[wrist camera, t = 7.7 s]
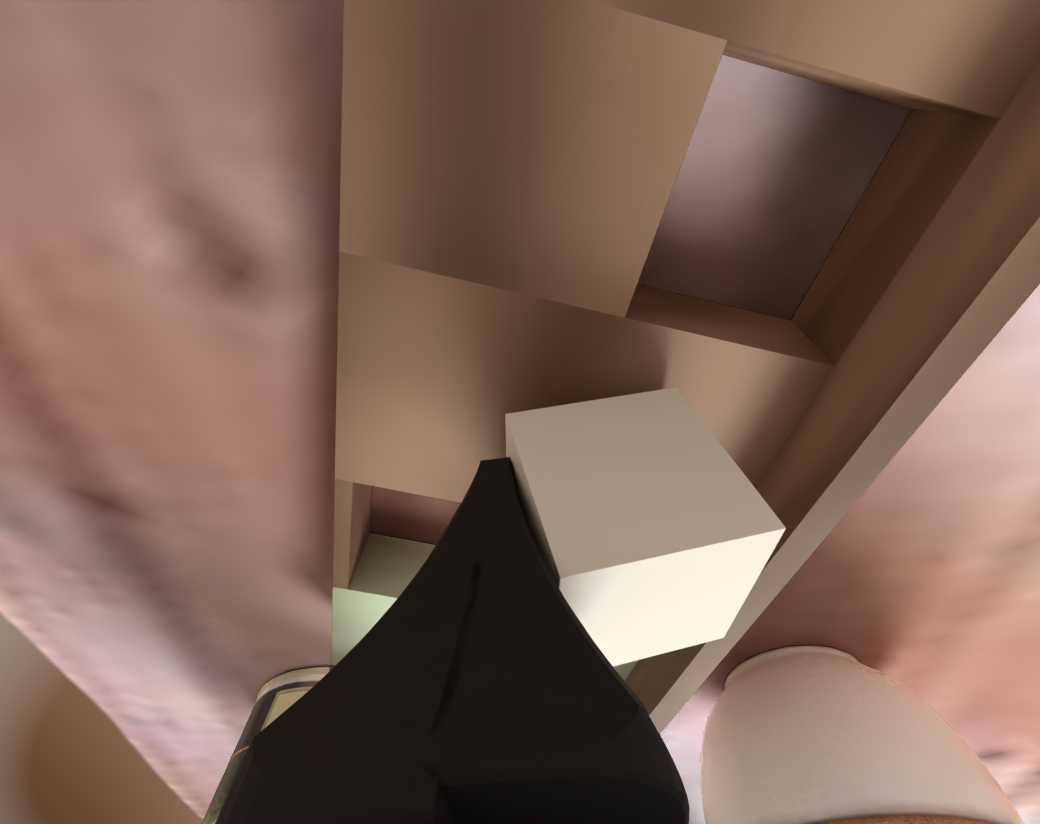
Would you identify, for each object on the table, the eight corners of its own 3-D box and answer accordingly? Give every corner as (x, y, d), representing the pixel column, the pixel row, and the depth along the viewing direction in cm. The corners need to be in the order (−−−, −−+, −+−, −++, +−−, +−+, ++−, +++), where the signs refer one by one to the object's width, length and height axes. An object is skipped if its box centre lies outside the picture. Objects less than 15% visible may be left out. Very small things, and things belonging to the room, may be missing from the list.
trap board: (999, 33, 10) (1267, 13, 6) (612, 662, 23) (624, 775, 20) (394, -152, 9) (284, -309, 5) (351, 618, 22) (311, 729, 18)
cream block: (676, 387, 12) (786, 528, 9) (647, 499, 14) (723, 637, 11) (505, 413, 11) (560, 577, 8) (507, 527, 13) (549, 682, 10)
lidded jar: (631, 665, 23) (672, 960, 16) (871, 579, 19) (1088, 921, 12) (736, 752, 28) (808, 1014, 20) (949, 696, 24) (1143, 1000, 16)
